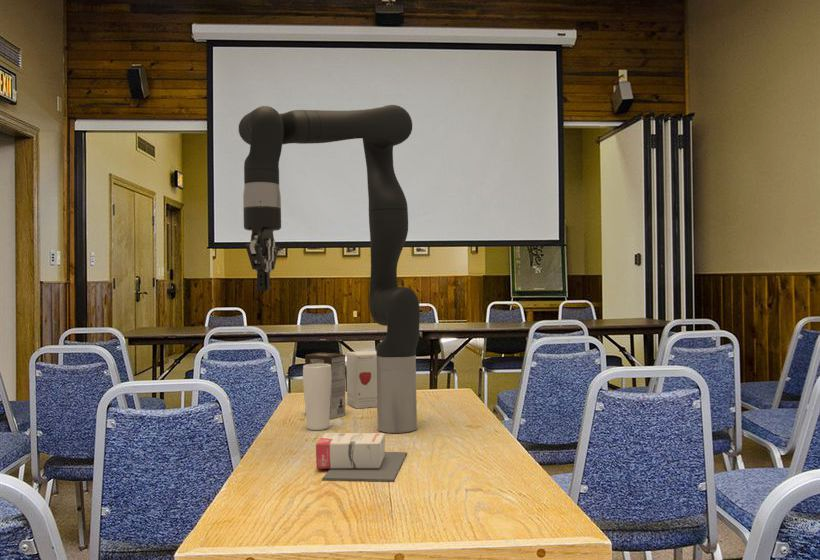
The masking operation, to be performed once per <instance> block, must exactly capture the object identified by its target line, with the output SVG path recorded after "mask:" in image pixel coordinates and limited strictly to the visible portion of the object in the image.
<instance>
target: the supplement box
mask: <svg viewBox="0 0 820 560" xmlns="http://www.w3.org/2000/svg"><path fill="white" fill-rule="evenodd" d="M376 356H377V355H376V350H361V351H359V350H358V351H347V352H346V404H347V405H349V406H351V407H353V408H355V409H369V407H370V408H377V357H376Z"/></svg>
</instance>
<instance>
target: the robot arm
mask: <svg viewBox="0 0 820 560" xmlns="http://www.w3.org/2000/svg"><path fill="white" fill-rule="evenodd" d="M412 131H413V120H412V117H411V114H410V113H409V112H408V111H407V110H406V109H405V108H404V107H402V106H400V105H396V104H389V105H384V106H380V107H373V108H368V109H367V108H366V109H358V110H357V109H356V110H327V109H326V110H325V109H324V110H322V109H321V110H320V109H319V110H318V109H316V110H314V109H293V110H290V111H287V112H283V113H279V112H278V111H277V110H276V109H275V108H274V107H271V106H268V105H261V106H258V107H256V108H255V109H253V110H252V111H249V113H247V114H245V115H244V116H243V117H241V120H240V121H239V123H238V134H239V136H240V138H241V139H242V141H244V143H246V144H247V145H249V146H250V147H249V153H248V155H247V156H246V158H245V159H244V163H243V164H244V165H243V171H244V172H243V175H244V176H243V177H244V178H243V181H244V186H243V193H242V195H243V196H242V197H243V201H242V204H243V205H242V206H243V210H242V211H243V229H244V230H246V231H249V232H250V231H251V235H250V243H247V244H245V245H246V246H245V248H246V249H245V250H246V252H247V256H248V259H249V262H250V265H251V269H252V270H254V271H255V274H256V287H257V288H256V290H257V291H258V292H270V290H271V277H270V276H271V275H270V274H271V273H272V271H274V270H275V265H276V262H277V258H278V254H279V251H280V250H279V247H278V246H276V240H275V238H274V231H279V230H281V229H282V201H281V200H282V197H281V196H282V195H281V189H280V158H281V155H282V148H283V145H288V144H299V145H300V144H305V145H306V144H325V143H332V142H335V143H336V142H339V141H347V140H355V139H362V144H363V149H364V151H363V152H364V158H365V164H366V165H365V166H366V176H367V193H368V195H367V197H368V224H369V225H368V226H369V242H370V247H369V248H370V278H369V279H370V281H369V283H370V284H369V296H368V301H369V302H368V307H369V314H370V315H371V318H372V320H373V321H374V322H375V323H376V324H378V325H379V326H383V327H384V326H385V327H386V335H385V338H384V339H383V340H381V341H379V342H378V343H377V345H376V350H375V351H376V355H377V356H376V357H377V407H376V409H377V411H376V413H377V416H376V417H377V418H376V420H377V421H376V423H377V431H379V432H381V433H389V434H400V433H401V434H402V433H409V432H413V431H416V430H417V429H418V424H417V423H418V421H417V420H418V419H417V417H418V415H417V411H418V410H417V407H418V406H417V364H416V363H417V359H416V357H417V355H416V354H417V351H416V350H417V347H418V343H419V340H420V318H421V315H420V314H421V309H420V307H421V306H420V300H419V298H418V295H417V294H416V292H415V291H414V290H413V289H411V288H410V287H406V286H398V276H397V274H398V272H397V271H398V262H399V259H400V256H401V254H402V251H403V249H404V246H405V244H406V240H407V237H408V233H409V210H408V208H409V207H408V202H407V197H406V195H405V193H404V191H403V188H402V187H401V185H400V183H399V180H398V178H397V176H396V175H397V174H396V173H395V167H394V151H393V150H394V146H398V145H400V144H402V143H404V142H405V141H407V139H408V138H409V137H410V136H411V134H412Z"/></svg>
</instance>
